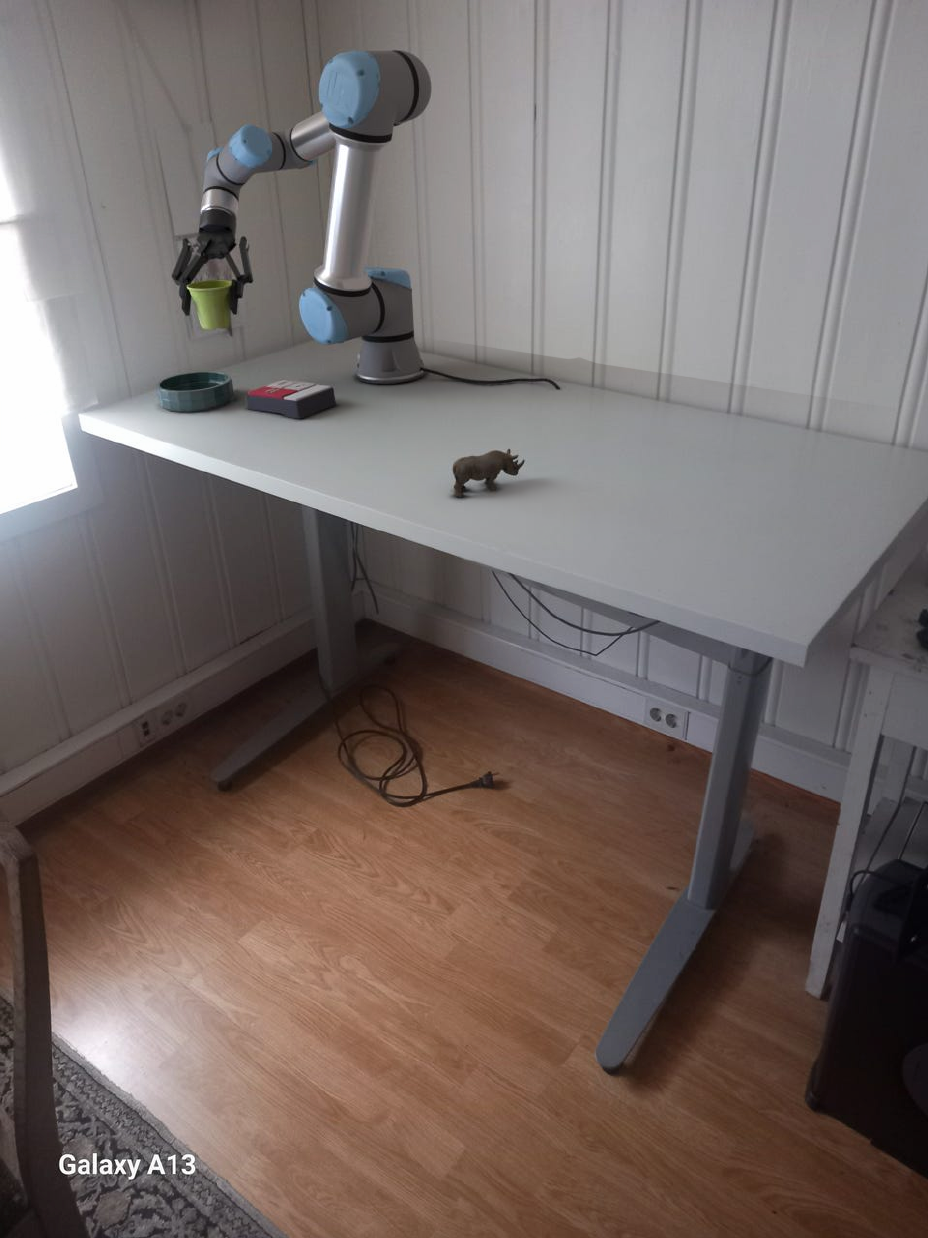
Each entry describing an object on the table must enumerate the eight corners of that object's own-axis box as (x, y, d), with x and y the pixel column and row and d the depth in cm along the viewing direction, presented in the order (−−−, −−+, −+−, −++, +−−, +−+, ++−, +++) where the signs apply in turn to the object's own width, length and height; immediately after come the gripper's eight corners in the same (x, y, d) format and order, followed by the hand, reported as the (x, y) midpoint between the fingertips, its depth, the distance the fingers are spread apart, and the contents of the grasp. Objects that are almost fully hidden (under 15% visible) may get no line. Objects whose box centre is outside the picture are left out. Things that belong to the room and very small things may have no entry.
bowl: (249, 398, 206) (246, 377, 204) (191, 417, 196) (187, 395, 193) (203, 387, 214) (200, 367, 212) (145, 405, 204) (141, 384, 202)
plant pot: (247, 322, 206) (241, 280, 202) (223, 332, 198) (216, 289, 194) (210, 320, 209) (203, 279, 205) (185, 330, 201) (177, 287, 197)
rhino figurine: (532, 481, 157) (532, 446, 155) (458, 500, 152) (456, 463, 149) (519, 474, 161) (518, 439, 158) (446, 491, 155) (444, 456, 152)
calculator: (281, 378, 205) (333, 383, 197) (285, 398, 207) (336, 404, 199) (243, 391, 197) (296, 397, 189) (247, 411, 199) (299, 419, 191)
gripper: (274, 228, 208) (266, 320, 202) (174, 231, 209) (164, 322, 204) (264, 204, 201) (256, 299, 195) (161, 208, 202) (150, 302, 196)
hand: (209, 311), depth 199 cm, fingers closed on plant pot, 9 cm apart
